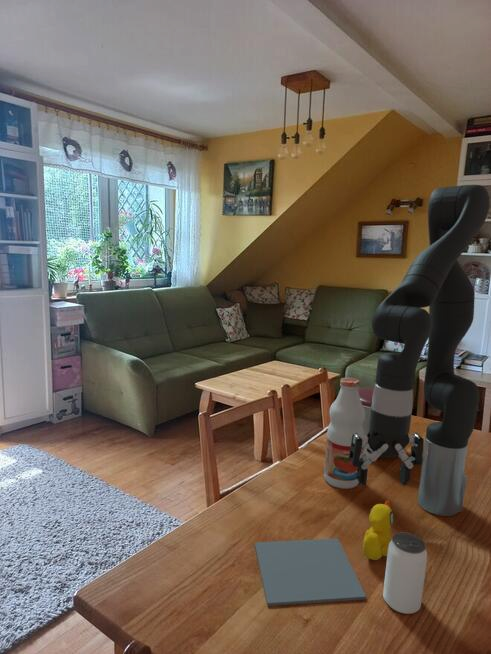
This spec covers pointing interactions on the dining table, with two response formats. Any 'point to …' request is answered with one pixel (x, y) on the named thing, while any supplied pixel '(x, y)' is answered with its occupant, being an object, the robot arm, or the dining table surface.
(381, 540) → the duckling
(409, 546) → the can
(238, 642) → the dining table surface
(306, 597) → the mat
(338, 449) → the fruit juice
